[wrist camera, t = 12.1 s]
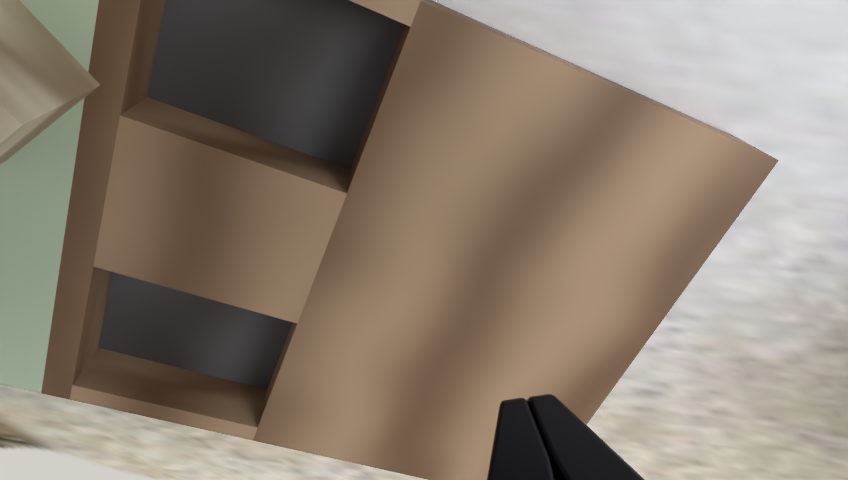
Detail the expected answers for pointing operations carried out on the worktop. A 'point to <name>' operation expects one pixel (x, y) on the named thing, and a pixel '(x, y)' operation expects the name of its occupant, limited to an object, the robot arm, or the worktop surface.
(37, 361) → the pad
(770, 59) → the worktop surface
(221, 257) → the trap board
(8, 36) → the maple block
